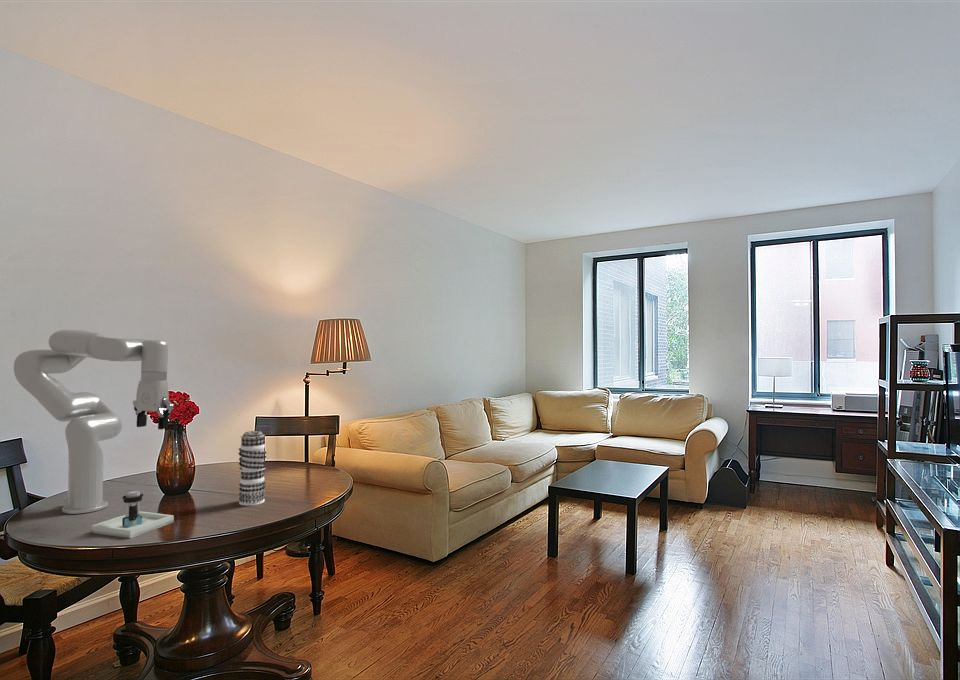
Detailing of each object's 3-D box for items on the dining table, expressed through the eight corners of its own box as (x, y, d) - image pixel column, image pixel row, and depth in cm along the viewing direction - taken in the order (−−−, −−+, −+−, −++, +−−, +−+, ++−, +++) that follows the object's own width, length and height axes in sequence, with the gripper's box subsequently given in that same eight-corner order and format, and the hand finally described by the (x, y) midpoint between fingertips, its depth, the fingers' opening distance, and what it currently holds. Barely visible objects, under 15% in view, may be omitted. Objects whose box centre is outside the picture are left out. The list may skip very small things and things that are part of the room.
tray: (91, 532, 161) (91, 525, 161) (136, 517, 175) (137, 510, 175) (130, 538, 156) (130, 530, 156) (173, 522, 171) (173, 515, 171)
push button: (143, 520, 170) (144, 488, 170) (150, 523, 167) (150, 491, 167) (119, 525, 165) (119, 492, 165) (125, 529, 161) (126, 495, 162)
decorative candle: (233, 502, 193) (234, 431, 193) (259, 497, 200) (260, 429, 200) (244, 507, 187) (244, 434, 187) (270, 502, 193) (271, 432, 194)
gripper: (124, 376, 181) (122, 427, 181) (163, 378, 176) (161, 431, 175) (145, 375, 189) (143, 424, 188) (182, 377, 183) (181, 428, 183)
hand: (152, 427), depth 182 cm, fingers open, 9 cm apart
